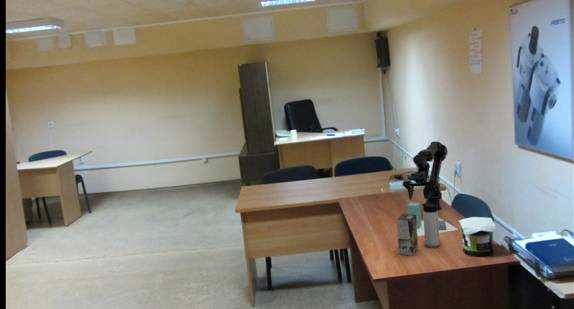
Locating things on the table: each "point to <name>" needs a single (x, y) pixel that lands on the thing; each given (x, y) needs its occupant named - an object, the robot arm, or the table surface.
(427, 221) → the travel mug
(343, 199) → the table surface
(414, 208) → the teal pillar block
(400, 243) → the coffee box
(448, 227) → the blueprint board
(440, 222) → the snap base
